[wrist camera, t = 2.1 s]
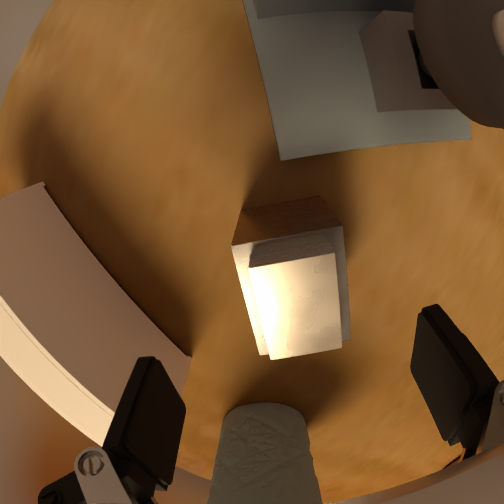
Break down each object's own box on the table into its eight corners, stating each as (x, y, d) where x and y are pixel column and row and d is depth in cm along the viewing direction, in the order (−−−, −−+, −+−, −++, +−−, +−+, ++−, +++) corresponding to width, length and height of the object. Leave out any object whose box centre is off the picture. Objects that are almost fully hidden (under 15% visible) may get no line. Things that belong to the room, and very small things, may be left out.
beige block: (319, 195, 18) (349, 235, 12) (330, 285, 21) (355, 353, 14) (240, 210, 19) (228, 257, 12) (261, 298, 21) (259, 370, 15)
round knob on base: (462, 14, 9) (543, -13, 3) (487, 122, 11) (579, 138, 5) (360, 2, 10) (422, -64, 3) (391, 125, 12) (483, 133, 6)
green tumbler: (217, 392, 26) (199, 509, 15) (325, 398, 26) (343, 510, 15) (217, 444, 30) (206, 533, 19) (304, 448, 30) (310, 536, 19)
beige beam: (15, 222, 20) (-61, 269, 11) (43, 180, 18) (-47, 220, 10) (159, 385, 26) (132, 466, 17) (202, 366, 24) (181, 459, 16)
